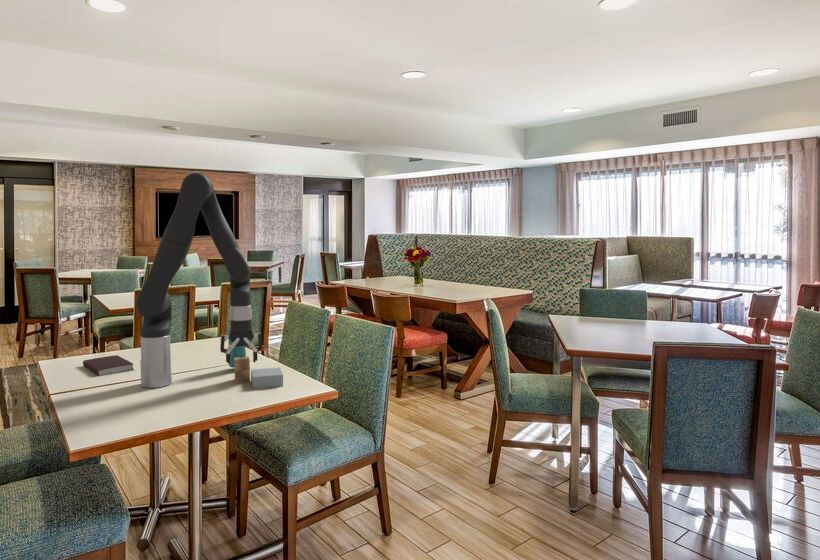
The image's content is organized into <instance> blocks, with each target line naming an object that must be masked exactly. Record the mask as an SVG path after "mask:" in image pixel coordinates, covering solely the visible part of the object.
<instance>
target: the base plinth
mask: <svg viewBox="0 0 820 560" xmlns="http://www.w3.org/2000/svg"><path fill="white" fill-rule="evenodd" d="M250 383H251V385H252V389H264V388H275V387H283V386H284V374H283V372H282V370H281V367H268V368H256V369H253V368H252V369H250Z"/></svg>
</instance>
